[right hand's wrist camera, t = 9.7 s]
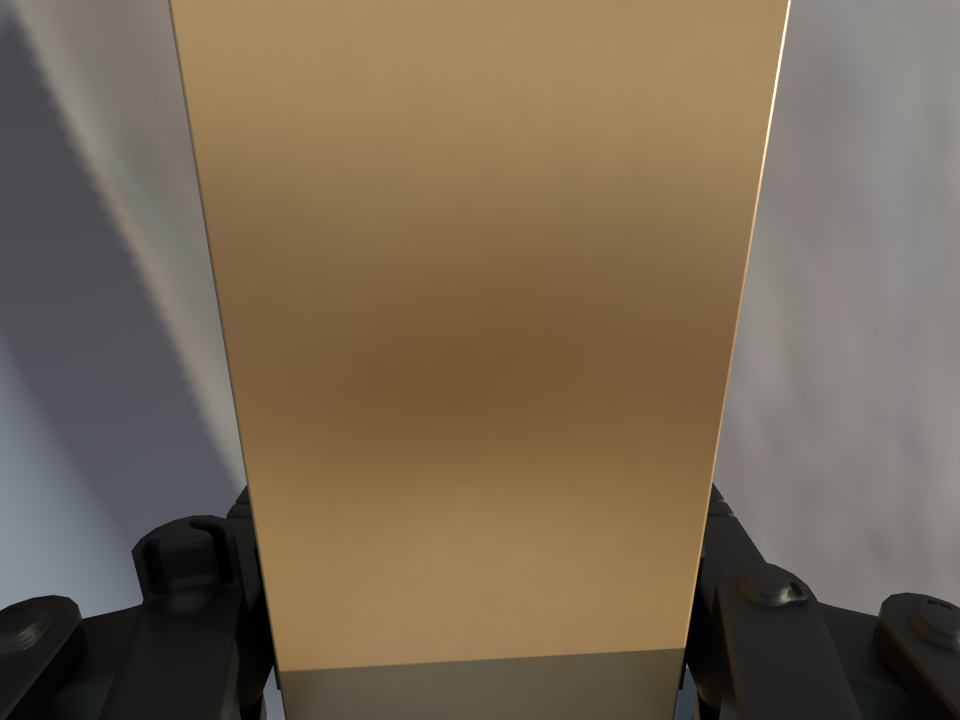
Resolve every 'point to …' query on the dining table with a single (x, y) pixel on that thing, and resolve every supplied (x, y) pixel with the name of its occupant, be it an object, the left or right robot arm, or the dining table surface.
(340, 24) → the post
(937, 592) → the dining table surface
